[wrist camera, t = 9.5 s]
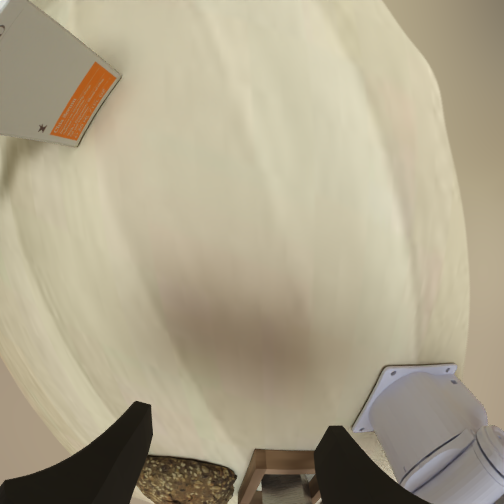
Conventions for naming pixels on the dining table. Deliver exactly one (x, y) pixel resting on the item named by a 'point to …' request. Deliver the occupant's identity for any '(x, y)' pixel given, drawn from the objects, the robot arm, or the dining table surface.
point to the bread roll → (185, 481)
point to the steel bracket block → (285, 489)
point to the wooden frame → (276, 472)
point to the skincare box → (47, 77)
